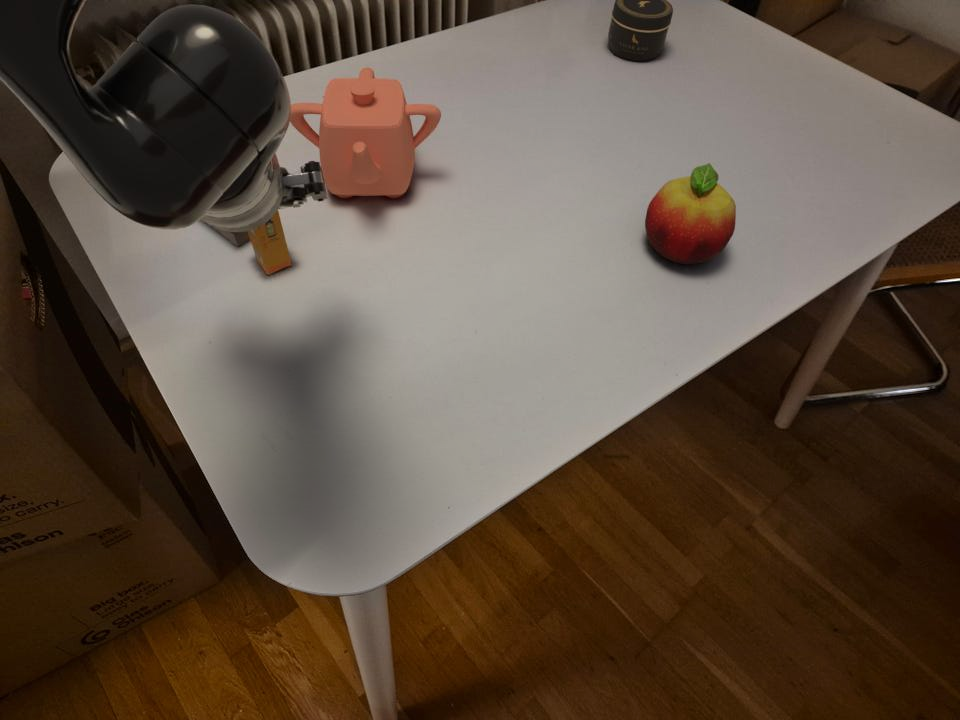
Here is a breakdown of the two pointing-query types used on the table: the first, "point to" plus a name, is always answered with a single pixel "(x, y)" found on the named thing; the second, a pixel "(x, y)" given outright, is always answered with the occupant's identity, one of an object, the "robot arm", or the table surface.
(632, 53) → the jar
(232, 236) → the walnut stick
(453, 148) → the table surface
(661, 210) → the fruit
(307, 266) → the table surface
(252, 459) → the table surface
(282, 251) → the supplement box
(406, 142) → the teapot
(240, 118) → the robot arm
